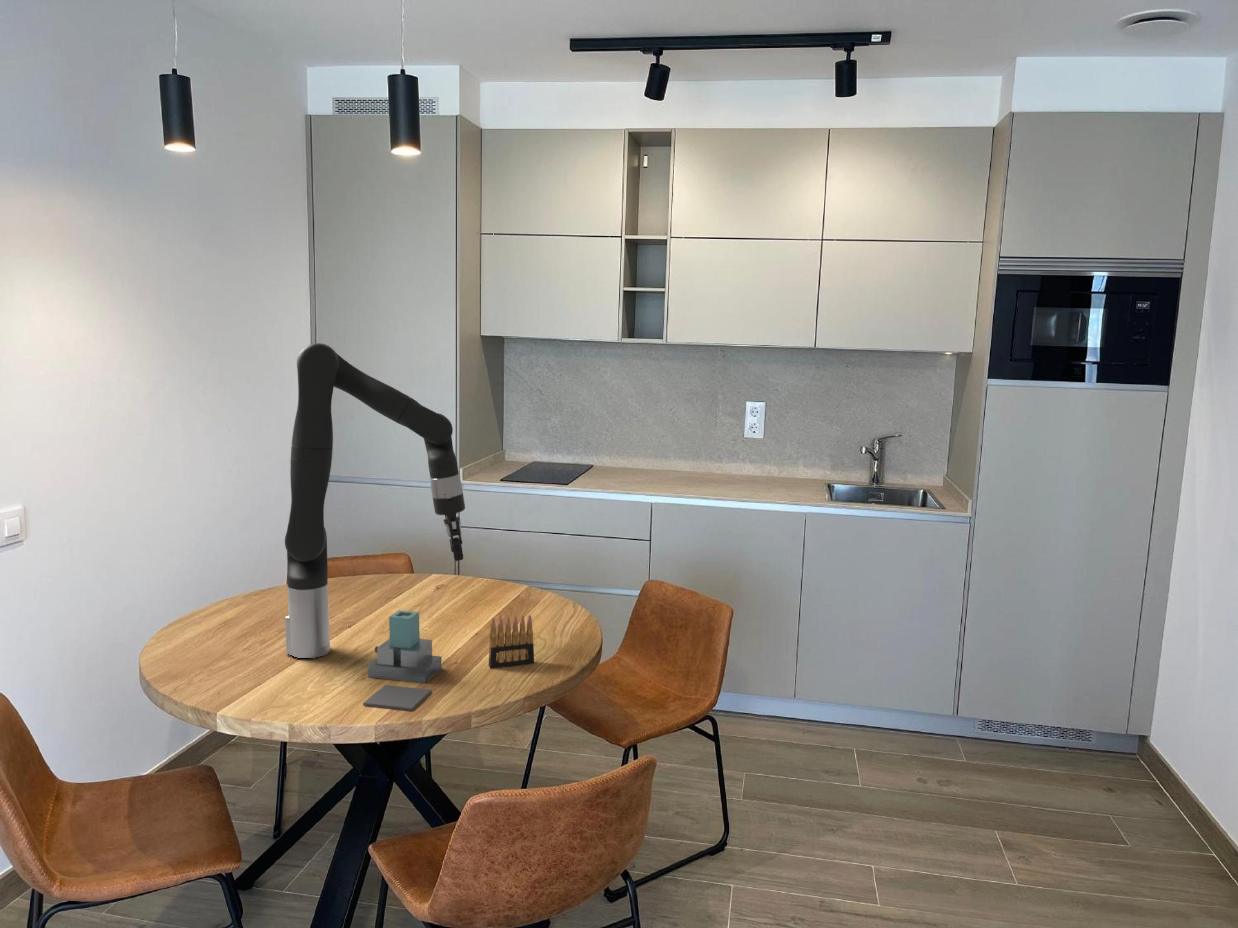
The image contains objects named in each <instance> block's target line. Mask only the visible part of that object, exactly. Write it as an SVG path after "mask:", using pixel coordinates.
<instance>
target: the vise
mask: <svg viewBox="0 0 1238 928" xmlns="http://www.w3.org/2000/svg"><path fill="white" fill-rule="evenodd" d="M402 617H408V616H407V615H402ZM374 653H376V658H375V659H374V660H372V661H371V662H369V663H368V664H367V675H368V676H367V677H368V678H371V679H373V678H374V679H380V680H381V679H383V680H393V681H401V682H411V683H412V682H413V683H420V684H421V683H423V684H426V683H428V681H430V680H431V679H432V678H433V677H434V676H435V675H437V674H438V672H439V671H441V670H442V667H443V665H442V664H443V663H442V661H443V660H442V656H440V655H433V640H432V639H427V638H420V641H419V642H418V643H417V644H415V645H414V646H413V647H411V648H400V647H390V638H389V639H387V640H385V641H384V642H383V643H382V644H380V645H378V646H377V645H376V646H375V647H374Z"/></svg>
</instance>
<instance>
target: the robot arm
mask: <svg viewBox="0 0 1238 928" xmlns="http://www.w3.org/2000/svg"><path fill="white" fill-rule="evenodd" d="M296 369H297V370H296V371H297V390H298V391H297V392H298V394H297V395H298V396H297V397H298V399H297V408H296V413H295V418H294V425H293V430H292V437H291V445H290V446H291V448H290V470H289V471H290V472H289V473H290V496H291V501H290V502H291V503H290V510H289V511H290V513H289V519H288V524H287V529H286V533H285V537H284V547H285V550H286V558H287V559H286V560H287V561H286V562H287V565H286V568H287V571H286V572H287V573H286V585H287V608H288V609H287V610H288V615H287V616H285V618H284V624H285V625H284V626H285V647H286V648H285V649H286V651H285V652H286V653H287V654H291V655H292V656H294V657H297V658H313V659H317V658H316V657H318V658H320V657H319V656H322V657H324V656H326V655H328V654H329V653H330V652H331V646H330V645H331V642H330V640H331V639H330V610H329V584H328V583H329V580H328V575H329V574H328V572H329V571H328V570H329V569H328V566H329V564H328V540H327V538H328V534H327V531H326V528H325V519H324V517H325V516H324V515H325V513H324V511H325V500H326V495H327V491H328V487H329V482H330V476H331V470H332V461H333V449H334V447H333V446H334V428H333V417H332V400H333V392H334V388H336V389H339V390H340V391H343V392H345V393H346V394H349V395H350V396H352V397H354V398H356V399H357V400H359V401H360V402H361V403H363V404H364V405H366V406H368V407H369V408H371V409H372V410H374V411H375V412H377V414H380V415H382V416H384V417H386V418H388V419H389V420H391V421H393V422H395V423H396V424H399V425H401V426H403V427H405V428H407V429H409V430H410V431H412V432H413V433H415V434H417V435H418V436H419V437H421V438H422V439H423V441H424V445H425V451H426V454H427V465H428V471H429V477H430V490H431V496H432V501H433V509H434V513H435V515H437V516H444V518H445V519H444V518H443V519H442V520H443V526H444V528H445V532H446V534H447V538H448V540H449V545H450V551H451V553H453V559H454V561H455V562H458V561H462V560H463V559H464V553H463V547H462V545H463V540H462V535H463V532H462V528H461V527H462V523H461V519H460V516H457V514H458V513H462V512H463V511H465V509H466V505H465V503H466V502H465V497H464V492H463V491H464V490H463V485H462V480H461V477H460V471H459V466H458V461H457V456H456V454H455V452H454V446H453V436H452V435H453V432H454V431H453V430H454V429H453V424H452V422H451V420H449V418H447V417H446V416H445V415H444V414H442V413H439V412H438V413H437V412H436V411H434V410H432V409H429V408H428V407H426V406H424V405H422V404H421V403H419V402H418V401H417V400H415V399H414V398H412V397H411V396H409V395H408V394H406V393H403V392H402V391H400V390H398V389H397V388H394V387H392V386H391V385H388V384H387V383H385V382H382V381H381V380H378V379H376V378H374V377H372V376H370V375H369V374H367V373H365V372H364V371H362V370H360V369H359V368H357V367H355V366H354V365H352V364H351V363H350V362H348V361H347V360H346V359H344V358H343V357H342V356H341V355H339V354H338V353H337V352H336V351H335V350H334V348H332V347H331V346H329V345H327V344H326V343H321V342H315V343H313V342H312V343H310V344H308V345H305V346H304V347H303V348H302V349H301V350H300V351H299V353H298V355H297V357H296ZM328 652H329V653H328ZM287 654H286V655H287ZM292 656H291V657H292ZM297 658H296V659H297Z"/></svg>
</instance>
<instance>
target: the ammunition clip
mask: <svg viewBox="0 0 1238 928" xmlns="http://www.w3.org/2000/svg"><path fill="white" fill-rule="evenodd" d="M518 624H519V625H518ZM496 627H497V629H496ZM489 631H490V633H489V649H488V650H489V651H488V667H489V669H501V668H508V667H510V668H511V667H516V666H517V667H518V666H525V665H534V664H535V653H534V652H535V650H534V630H533V619H532V616H531V614H528V616H527V623H526V620H525V618H524V615H523V614H522V615H521V616H520V620H519V623H518V617H517V616H516V615H514V617H513V620H512V625H511V620H510V617H509V616H507V618H506V621H505V630H504V622H503V619H502V617H499V620H498V623H497V626H496V621H495V618H494V617H493V618H491V623H490V630H489ZM504 631H505V632H504Z"/></svg>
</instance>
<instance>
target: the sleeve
mask: <svg viewBox="0 0 1238 928" xmlns="http://www.w3.org/2000/svg"><path fill="white" fill-rule="evenodd" d="M402 615H407V616H408V617H402ZM388 621H389V622H388V623H389V625H388V627H389V639H390V647H400V648H411V647H413V646H414V645H415V644H417V643H418V642H419V641H420V639H421V638H420V634H421V633H420V612H419V611H410V610H401V609H398V610H397V611H396V612H394V613H393V614H391V615H390V616H389V617H388Z"/></svg>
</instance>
